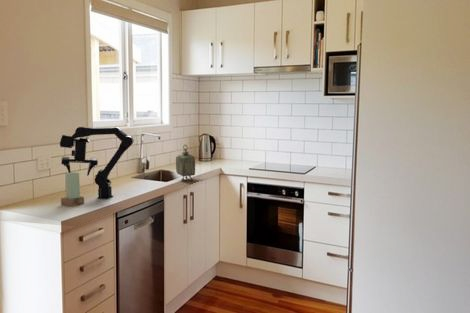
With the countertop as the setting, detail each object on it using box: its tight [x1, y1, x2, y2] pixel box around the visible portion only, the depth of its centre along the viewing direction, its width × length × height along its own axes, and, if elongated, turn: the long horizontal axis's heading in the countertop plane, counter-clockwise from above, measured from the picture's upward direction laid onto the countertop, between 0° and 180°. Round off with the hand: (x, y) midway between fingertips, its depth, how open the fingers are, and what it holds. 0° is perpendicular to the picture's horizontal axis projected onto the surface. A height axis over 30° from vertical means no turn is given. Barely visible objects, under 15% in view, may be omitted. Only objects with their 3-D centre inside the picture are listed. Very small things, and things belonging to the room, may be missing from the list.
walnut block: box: [60, 195, 85, 208], centre depth 209 cm, size 8×8×4 cm
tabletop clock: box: [175, 144, 196, 182], centre depth 274 cm, size 14×9×25 cm, turn 28°
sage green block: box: [65, 171, 81, 199], centre depth 207 cm, size 5×5×13 cm
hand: (78, 175), depth 223 cm, fingers open, 9 cm apart
